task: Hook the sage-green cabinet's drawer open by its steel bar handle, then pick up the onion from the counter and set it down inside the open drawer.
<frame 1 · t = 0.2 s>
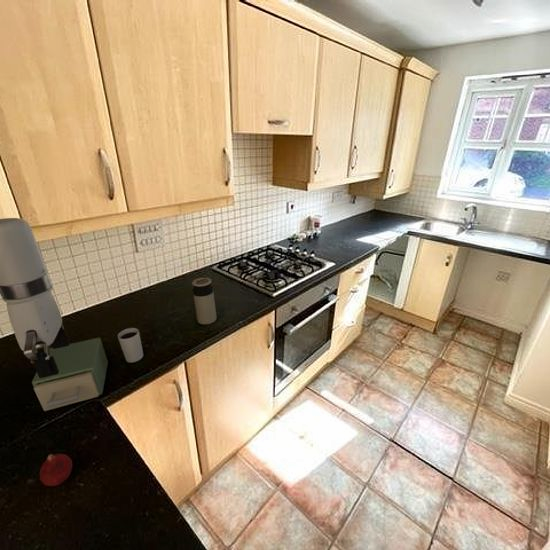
hand: (56, 360, 63), 28 cm above the countertop, tool pointing down, fingers open, 9 cm apart
onion: (62, 481, 67), on the countertop
grey cup: (134, 357, 106), on the countertop
drawer: (71, 381, 89), point 5 cm above the countertop, slide at 0.5 cm
travel mug: (207, 320, 127), on the countertop
cabinet: (79, 383, 95), on the countertop
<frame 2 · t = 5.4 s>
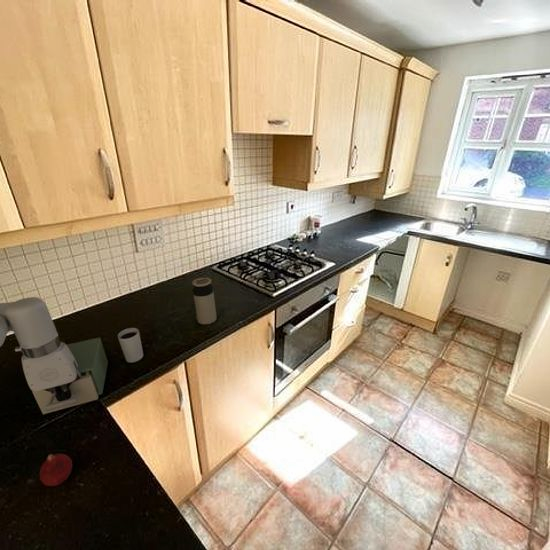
hand: (65, 400, 82), 5 cm above the countertop, tool pointing down, fingers closed
drawer: (70, 383, 88), point 5 cm above the countertop, slide at 1.7 cm, touching gripper
everything else where it was.
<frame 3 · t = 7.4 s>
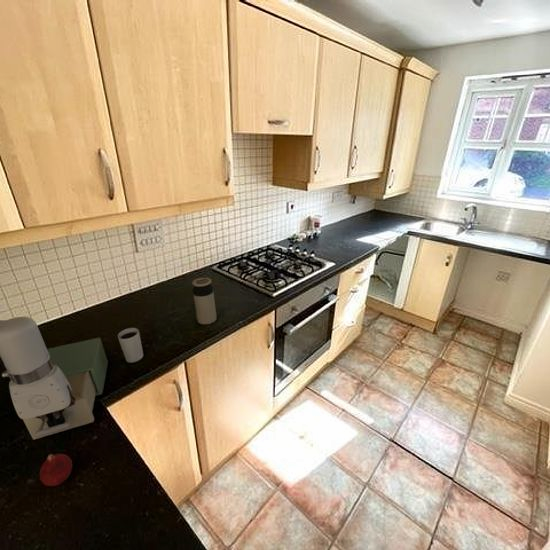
hand: (58, 427, 75), 4 cm above the countertop, tool pointing down, fingers closed
drawer: (63, 405, 80), point 5 cm above the countertop, slide at 10.1 cm, touching gripper
everything else where it was.
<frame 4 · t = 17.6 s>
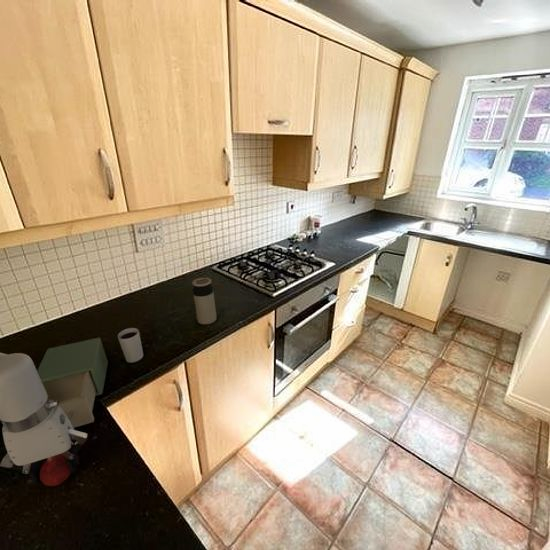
hand: (57, 471, 66), 3 cm above the countertop, tool pointing down, fingers closed on onion, 5 cm apart
onion: (62, 481, 67), on the countertop, touching gripper
drawer: (63, 405, 80), point 5 cm above the countertop, slide at 10.1 cm
everything else where it was.
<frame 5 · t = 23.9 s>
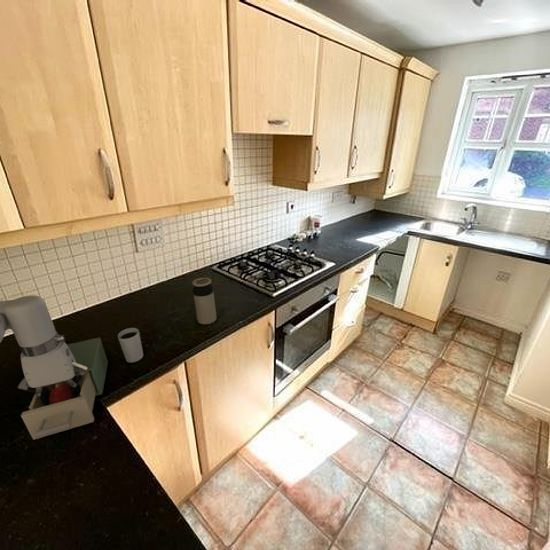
hand: (62, 398, 81), 6 cm above the countertop, tool pointing down, fingers closed on onion, 5 cm apart
onion: (66, 407, 82), point 3 cm above the countertop, touching gripper
drawer: (63, 405, 80), point 5 cm above the countertop, slide at 10.1 cm, touching gripper
everything else where it was.
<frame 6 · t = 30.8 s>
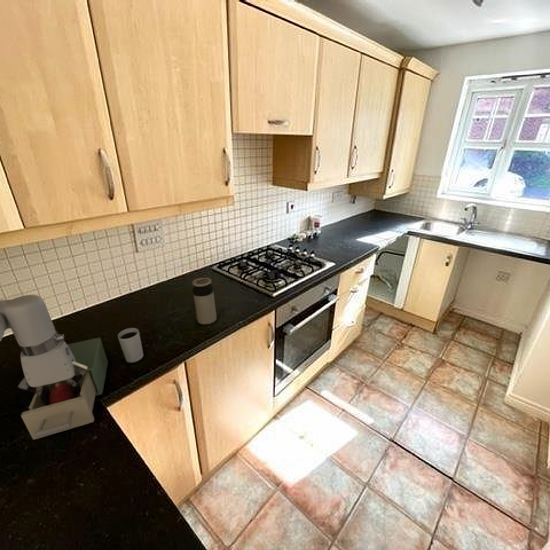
hand: (63, 397, 81), 6 cm above the countertop, tool pointing down, fingers closed on onion, 5 cm apart
onion: (67, 406, 82), point 3 cm above the countertop, touching gripper
drawer: (63, 405, 80), point 5 cm above the countertop, slide at 10.1 cm
everything else where it was.
when the fingers open (8 cm above the countertop, at t = 37.3 s): onion drops 3 cm, resting on drawer.
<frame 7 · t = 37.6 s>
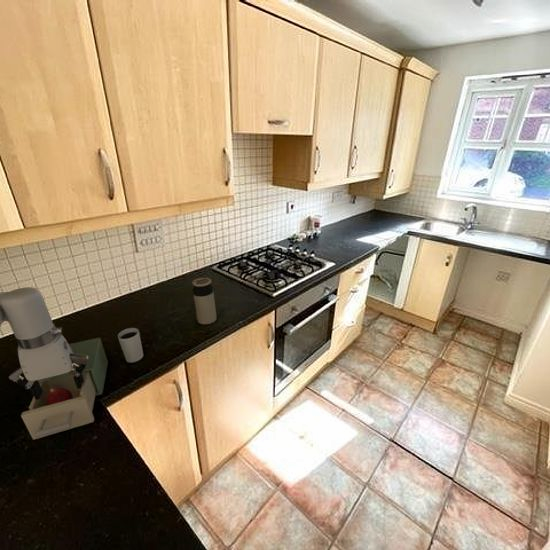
hand: (60, 390, 80), 9 cm above the countertop, tool pointing down, fingers open, 9 cm apart
onion: (66, 409, 83), point 2 cm above the countertop, touching drawer
drawer: (63, 405, 80), point 5 cm above the countertop, slide at 10.1 cm, touching onion
everything else where it was.
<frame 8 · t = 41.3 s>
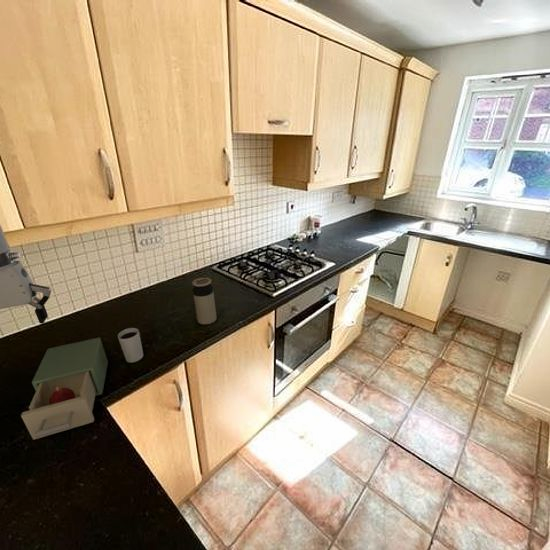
hand: (20, 325, 74), 28 cm above the countertop, tool pointing down, fingers open, 9 cm apart
nothing on the countertop moved.
at the end: drawer slide at 10.1 cm; onion inside the target area in the drawer (0.5 cm from its centre), point 1.9 cm above the cabinet's base; the gripper is holding nothing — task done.
